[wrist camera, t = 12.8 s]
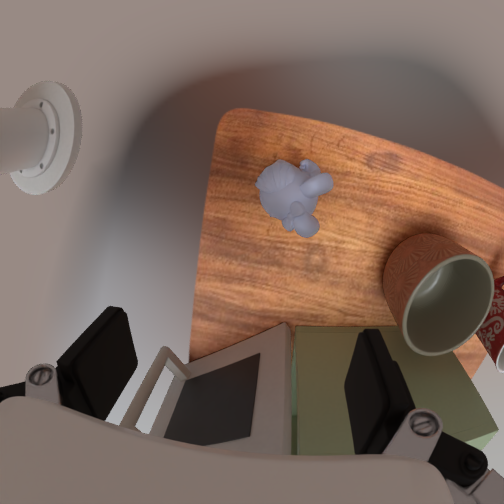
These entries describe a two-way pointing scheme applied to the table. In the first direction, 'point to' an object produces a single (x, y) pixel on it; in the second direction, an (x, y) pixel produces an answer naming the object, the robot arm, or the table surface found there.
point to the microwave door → (226, 396)
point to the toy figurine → (293, 194)
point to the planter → (437, 293)
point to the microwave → (334, 401)
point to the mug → (494, 327)
